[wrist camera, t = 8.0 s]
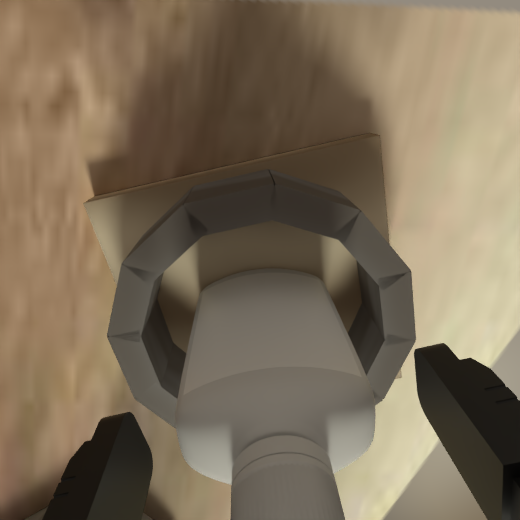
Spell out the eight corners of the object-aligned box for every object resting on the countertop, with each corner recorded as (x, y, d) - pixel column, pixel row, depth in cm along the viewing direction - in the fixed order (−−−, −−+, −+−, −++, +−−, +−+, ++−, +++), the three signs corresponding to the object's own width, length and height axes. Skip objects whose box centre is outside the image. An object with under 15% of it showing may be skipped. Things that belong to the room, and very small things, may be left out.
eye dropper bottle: (223, 236, 16) (183, 534, 5) (339, 282, 17) (522, 612, 6) (187, 319, 17) (93, 694, 6) (296, 357, 19) (380, 735, 7)
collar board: (93, 196, 16) (47, 225, 12) (369, 133, 16) (411, 142, 12) (176, 407, 21) (162, 476, 17) (392, 362, 20) (428, 423, 17)
